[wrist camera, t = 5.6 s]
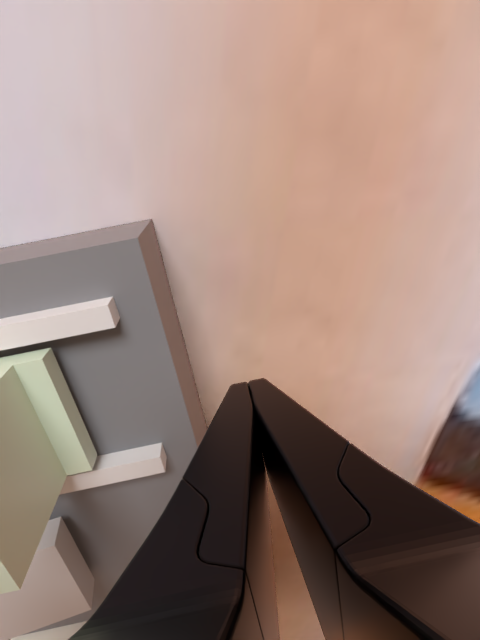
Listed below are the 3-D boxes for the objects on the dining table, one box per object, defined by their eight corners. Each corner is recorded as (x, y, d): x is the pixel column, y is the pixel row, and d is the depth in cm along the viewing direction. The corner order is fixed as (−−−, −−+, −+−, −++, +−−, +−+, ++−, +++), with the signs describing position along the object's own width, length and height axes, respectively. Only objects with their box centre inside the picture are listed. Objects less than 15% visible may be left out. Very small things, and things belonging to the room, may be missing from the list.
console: (252, 600, 20) (263, 688, 16) (-12, 659, 19) (-55, 761, 16) (151, 219, 12) (133, 242, 8) (-307, 308, 11) (-515, 369, 8)
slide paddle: (97, 454, 11) (54, 582, 8) (15, 471, 11) (-64, 608, 8) (50, 347, 9) (-28, 448, 6) (-44, 366, 9) (-174, 478, 6)
